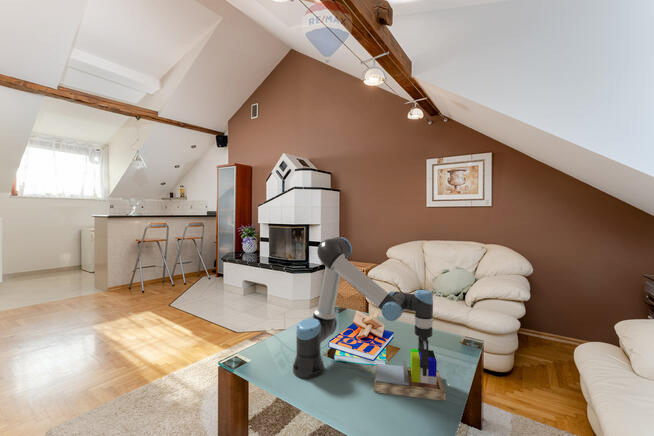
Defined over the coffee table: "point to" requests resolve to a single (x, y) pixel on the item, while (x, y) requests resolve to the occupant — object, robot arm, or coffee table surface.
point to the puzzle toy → (416, 363)
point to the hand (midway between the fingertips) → (422, 375)
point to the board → (413, 388)
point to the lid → (392, 374)
